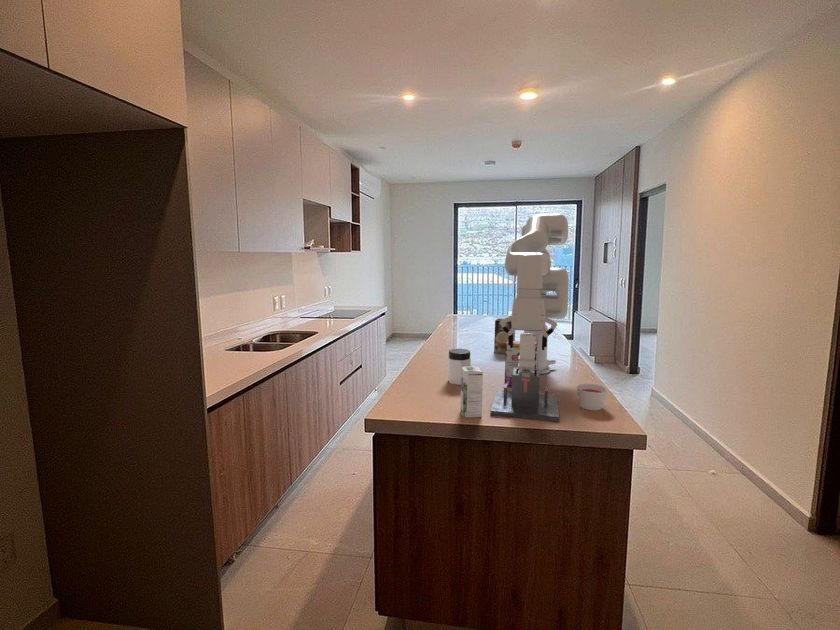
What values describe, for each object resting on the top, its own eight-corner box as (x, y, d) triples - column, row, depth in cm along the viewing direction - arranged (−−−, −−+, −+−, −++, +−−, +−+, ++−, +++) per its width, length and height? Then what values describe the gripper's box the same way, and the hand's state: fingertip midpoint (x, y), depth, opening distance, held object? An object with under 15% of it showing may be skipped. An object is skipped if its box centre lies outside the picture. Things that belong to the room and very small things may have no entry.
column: (533, 399, 140) (536, 333, 137) (533, 405, 136) (535, 336, 132) (517, 398, 142) (519, 332, 138) (516, 403, 137) (519, 335, 133)
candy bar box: (504, 386, 159) (505, 342, 157) (506, 382, 164) (507, 340, 162) (535, 389, 156) (537, 345, 153) (536, 385, 160) (538, 342, 158)
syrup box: (459, 411, 135) (460, 366, 133) (478, 410, 136) (479, 365, 134) (463, 418, 130) (463, 371, 127) (482, 417, 130) (483, 371, 128)
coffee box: (493, 352, 210) (494, 320, 207) (496, 350, 215) (497, 318, 213) (512, 354, 206) (513, 321, 203) (515, 351, 212) (516, 319, 209)
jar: (456, 386, 159) (456, 354, 157) (443, 380, 166) (443, 350, 164) (475, 382, 164) (475, 351, 162) (461, 377, 171) (462, 347, 169)
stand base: (556, 399, 146) (558, 362, 144) (559, 421, 127) (561, 380, 125) (496, 394, 151) (497, 358, 149) (490, 415, 132) (491, 375, 130)
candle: (576, 400, 144) (577, 382, 143) (605, 404, 141) (606, 385, 140) (575, 410, 136) (576, 390, 135) (606, 413, 133) (607, 394, 132)
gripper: (558, 293, 134) (555, 347, 137) (501, 292, 139) (500, 344, 142) (559, 296, 127) (556, 352, 130) (499, 294, 132) (498, 349, 135)
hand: (527, 348), depth 136 cm, fingers open, 9 cm apart
